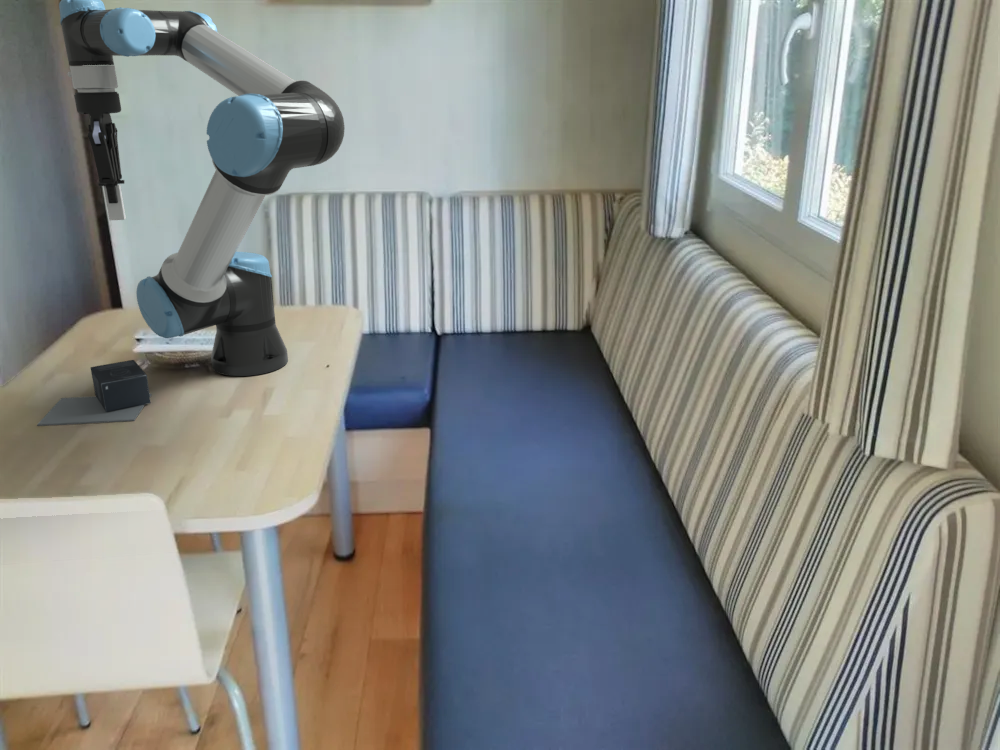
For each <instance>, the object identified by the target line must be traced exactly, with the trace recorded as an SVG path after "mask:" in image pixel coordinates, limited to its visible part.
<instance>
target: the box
mask: <svg viewBox="0 0 1000 750" xmlns="http://www.w3.org/2000/svg"><path fill="white" fill-rule="evenodd" d="M90 373H91V378H92V383H93V384H92V385H93V389H94V396H96V397H97V398H98V400H99V402H100V403H101V405H102V406H103V408H104V410H105V411H106V412H109V411H114V410H119V409H124V408H129V407H133V406H138V405H143V404H145V405H147V404H151V397H150V395H149V394H150V388H149V381H148V376H147V374H146V373H145V371H144V370H143V369H142V367H141V366H140V365H139V364H138V363H137V362H136V361H135V359H130V360H124V361H117V362H112V363H108V364H102V365H96V366H90Z"/></svg>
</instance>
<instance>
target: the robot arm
mask: <svg viewBox="0 0 1000 750" xmlns="http://www.w3.org/2000/svg"><path fill="white" fill-rule="evenodd" d="M58 7H59V15H60V21H59V23H60V25H61V31H62V35H63V40H64V41H63V42H64V46H65V50H66V51H65V53H66V57H67V61H68V65H69V70H70V71H68V72H67V77H68V78H71V83H72V89H74V90H77V92H75V93H74V94H73V97H74V103H75V107H76V111H77V113H78V114H80V115H89V123H90V124H87V125H88V126H87V127H88V131H89V132H88V133H87V137H88V139H89V143H90V146H91V149H92V154H93V158H94V161H95V167H96V169H97V170H96V171H97V176H98V178H99V181H98V183H97V184H98V187H103V189H104V196H105V202H106V208H107V214H108V218H109V219H108V220H109V221H124V220H127V215H126V211H125V205H124V204H125V203H124V199H123V192H122V187H121V185H122V184H123V185H124V184H125V179H122V178H123V176H122V169H121V161H120V160H121V159H120V151H119V142H118V129H117V127H116V124H115V122H113V120H112V116H111V114H117V113H121V112H122V106H121V105H122V104H121V100H120V99H121V97H120V94H119V93H118V91H116V89H118V87H119V85H118V79H117V74H116V73H117V71H116V68H115V63H114V58H113V57H114V56H115V57H116V56H117V57H120V56H121V57H138V56H139V57H140V56H141V57H143V56H145V57H146V56H176V57H179V58H181V59H182V60H183V61H186V62H187V63H188V64H190V65H192V66H193V67H195V68H196V69H198V70H199V71H201V72H202V73H204V74H205V75H207V76H208V77H210V78H212V79H213V80H214V81H216V82H217V83H219V84H220V85H221V86H223V87H224V88H226V89H228V90H229V91H230V92H233V93H234V94H236V95H235V96H231V97H227V98H226V99H224V100H222V101H221V102H219V104H217V105H216V106H215V108H214V109H213V110H212V111H211V113H210V116H209V119H208V121H207V125H206V135H207V136H208V137H209V139H208V140H206V144H207V145H206V146H207V149H208V153H209V155H210V158H211V160H212V161H211V162H212V164H213V167H214V169H215V170H214V173H213V175H212V177H211V180H210V182H209V184H208V186H207V188H206V191H205V193H204V195H203V197H202V200H201V202H200V204H199V206H198V208H197V210H196V211H195V214H194V217H193V219H192V221H191V222H190V226H189V228H188V229H187V232H186V233H185V236H184V239H183V241H182V243H181V245H180V247H179V250H178V252H175V253H172V254H170V255H168V256H167V257H166V258H165V259H164V261H163V263H162V265H161V267H160V269H159V271H158V273H157V274H156V275H153V276H146V278H143V279H141V280H140V281H139V282H138V284H137V286H136V292H135V293H136V301H137V304H138V308H139V312H140V313H141V315H142V318H143V320H144V321H145V323H146V325H147V326H148V328H149V329H150V330H151V331H152V332H153V333H154V334H155V335H156V336H158V337H160V338H164V339H172V338H176V337H183V336H185V335H188V334H192V333H195V332H198V331H201V330H204V329H207V328H211V327H213V326H215V328H216V332H215V337H214V341H213V347H212V351H211V356H210V361H211V367H212V368H211V369H212V370H213V371H214V372H216V373H218V374H220V375H225V376H230V377H233V376H234V377H245V376H247V377H249V376H257V375H263V374H264V375H265V374H268V373H271V372H274V371H277V370H279V369H281V368H283V367H284V366H285V365H287V363H288V362H289V355H288V349H287V347H286V345H285V344H286V343H285V342H284V340H283V337H282V336H281V334H280V331H279V329H278V327H277V323H276V313H275V304H274V295H273V281H272V278H273V275H272V274H271V273H272V272H271V268H270V262H269V259H268V258H267V257H266V256H264V255H263V254H259V253H254V252H246V251H238V249H239V246H240V245H241V243H242V241H243V239H244V237H245V235H246V233H247V231H248V230H249V228H250V226H251V224H252V222H253V221H254V218H255V216H256V214H257V213H258V210H259V208H260V207H261V205H262V203H263V201H264V199H265V197H266V196H270V195H273V194H275V193H277V192H278V191H279V190H280V189H281V188H282V186H283V184H284V182H285V180H286V178H287V177H288V174H289V173H290V171H292V170H293V169H300V168H305V167H313V166H317V165H320V164H322V163H326V162H327V161H329V160H330V159H331V158H333V156H335V154H337V152H338V150H339V149H340V147H341V145H342V143H343V140H344V137H345V121H344V117H343V113H342V111H341V109H340V107H339V105H338V104H337V102H336V101H335V100H334V99H333V98H332V97H331V96H330V95H329V94H328V93H326V92H325V91H323V90H322V88H319V87H318V86H316V85H314V84H313V83H311V82H310V81H307V80H305V79H296V80H295V79H293V78H291V77H290V76H288V75H287V74H286V73H284V72H283V71H281V70H279V69H277V68H276V67H274V66H273V65H271V64H269V63H268V62H266V61H264V60H263V59H261V58H260V57H258V56H256V55H255V54H254V53H252V52H250V51H249V50H248V49H247V50H246V48H244V47H243V46H241V45H239V44H237V43H236V42H234V41H232V39H229V38H228V37H226V36H225V35H223V34H221V33H220V32H218V28H217V25H216V24H215V23H214V22H213V19H212V18H211V17H210V16H209V15H208V14H206V13H203V12H197V11H192V10H183V11H182V10H178V11H177V10H151V9H150V10H148V9H137V8H136V9H135V8H130V7H115V8H114V9H106V6H105V4H104V1H102V0H60V1H59V3H58Z"/></svg>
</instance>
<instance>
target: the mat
mask: <svg viewBox="0 0 1000 750" xmlns="http://www.w3.org/2000/svg"><path fill="white" fill-rule="evenodd" d="M149 395H150V398H151V397H152V393H149ZM145 405H146V404H143V405H138V406H133V407H129V408H124V409H119V410H114V411H109V412H106V411H105V410H104V408H103V406H102V405H101V403H100V402H99V400H98V398H97V397H96V395H94V396H92V395H91V396H77V397H76V396H73V397H62V398H60V399H59V400H58V401H57V402H56V403H55V405H53V406H52V408H51V409H50V410H49V411H48V412H47V413H46V414H45V415H44V417H43V418H42V419H40V420H39V422H37V427H42V426H43V427H45V426H46V425H47V426H62V425H83V424H85V425H86V424H100V423H101V424H103V423H120V422H122V423H124V422H135V421H136V419H137V418H138V416H139V415H140V413H141V412H142V410H143V409H144V407H146V406H145Z"/></svg>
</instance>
